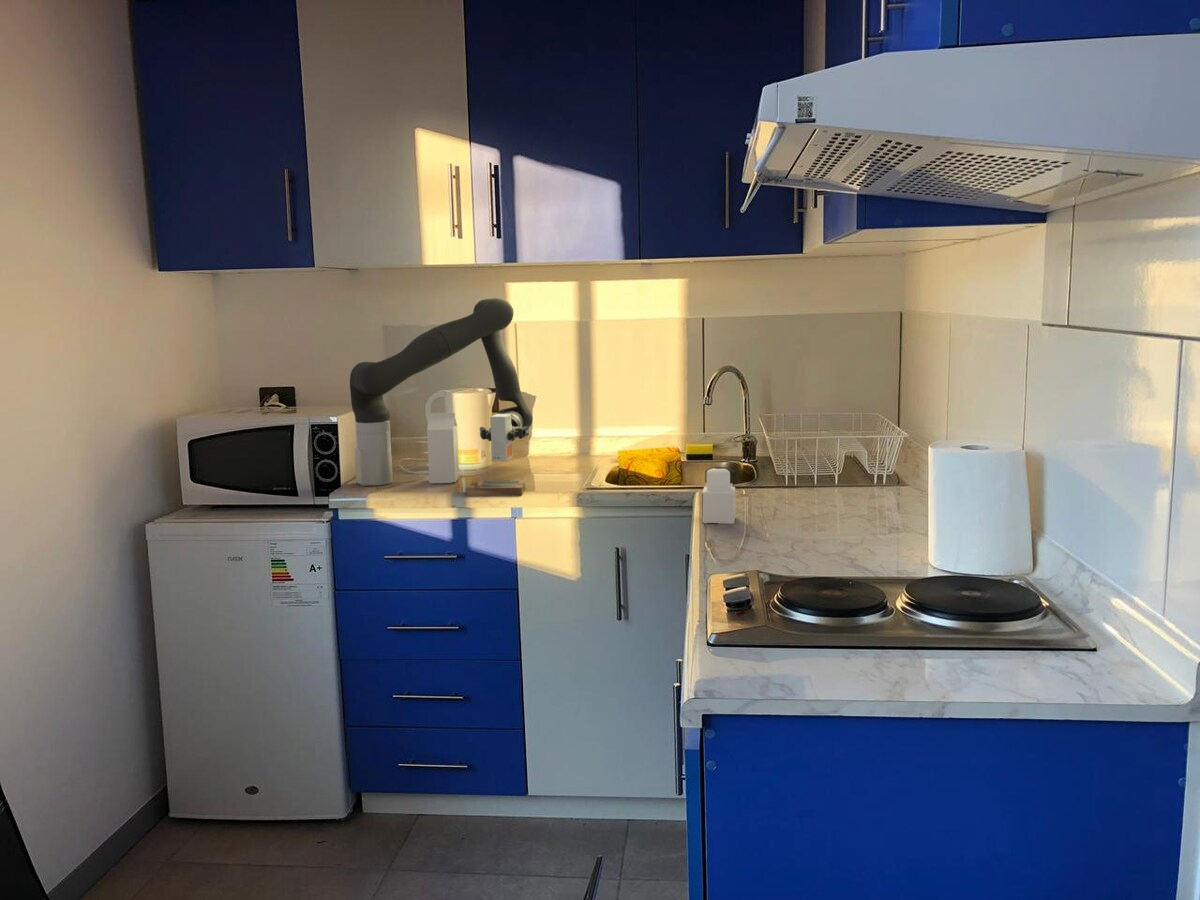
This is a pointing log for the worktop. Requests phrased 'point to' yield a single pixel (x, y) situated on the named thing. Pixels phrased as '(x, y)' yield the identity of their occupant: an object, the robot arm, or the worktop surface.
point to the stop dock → (497, 488)
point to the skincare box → (500, 437)
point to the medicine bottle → (718, 496)
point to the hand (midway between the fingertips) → (499, 436)
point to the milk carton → (442, 448)
